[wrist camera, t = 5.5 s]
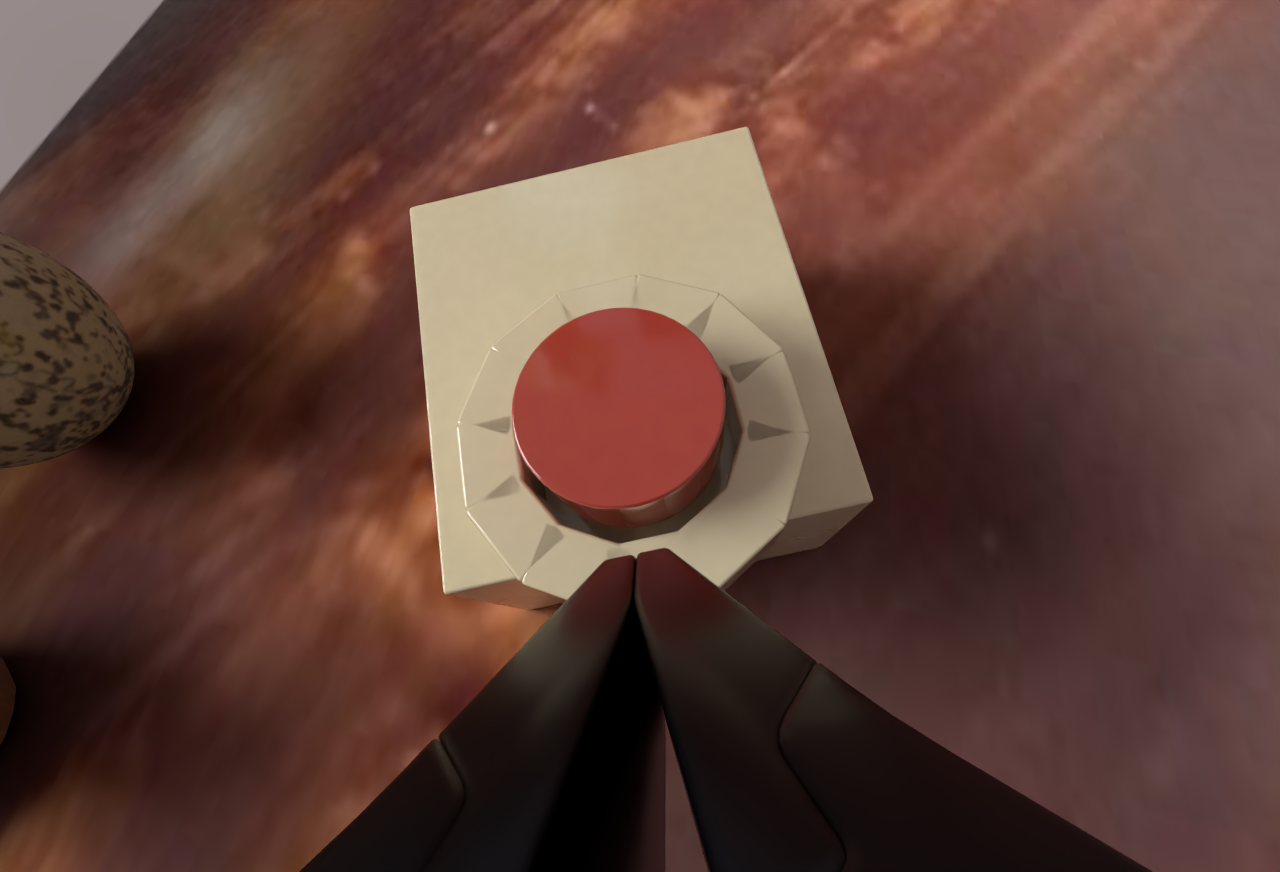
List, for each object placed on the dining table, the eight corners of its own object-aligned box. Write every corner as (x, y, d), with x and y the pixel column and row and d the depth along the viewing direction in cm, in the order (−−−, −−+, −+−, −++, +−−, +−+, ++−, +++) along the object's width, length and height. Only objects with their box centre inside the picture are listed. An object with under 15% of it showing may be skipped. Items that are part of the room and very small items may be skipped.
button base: (834, 589, 18) (927, 548, 10) (531, 654, 18) (405, 660, 11) (737, 265, 22) (753, 61, 14) (488, 323, 22) (372, 154, 14)
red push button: (744, 505, 11) (750, 481, 10) (552, 546, 11) (525, 530, 10) (699, 333, 12) (698, 285, 11) (525, 373, 13) (498, 331, 11)
